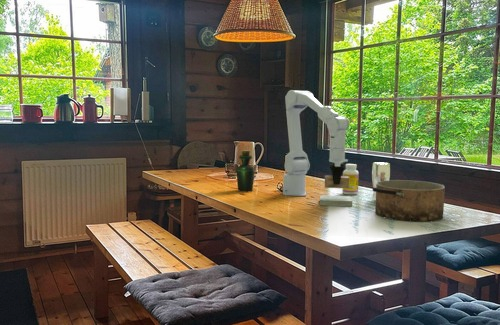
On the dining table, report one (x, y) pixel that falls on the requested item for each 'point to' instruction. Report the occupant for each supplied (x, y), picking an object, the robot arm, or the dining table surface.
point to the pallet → (329, 184)
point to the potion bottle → (245, 172)
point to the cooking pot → (409, 200)
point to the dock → (336, 200)
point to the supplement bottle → (351, 179)
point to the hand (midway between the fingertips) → (336, 183)
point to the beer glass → (380, 174)
